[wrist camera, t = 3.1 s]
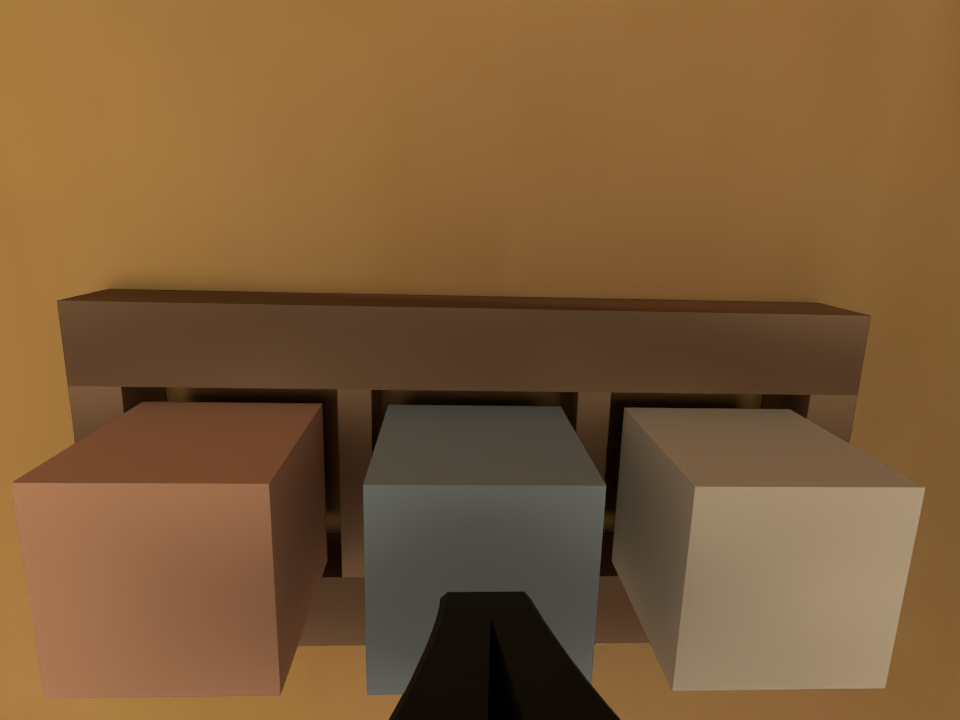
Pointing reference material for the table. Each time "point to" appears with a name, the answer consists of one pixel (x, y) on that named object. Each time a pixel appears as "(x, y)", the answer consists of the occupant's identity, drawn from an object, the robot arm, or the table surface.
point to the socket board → (453, 376)
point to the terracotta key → (176, 550)
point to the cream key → (761, 549)
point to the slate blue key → (477, 526)
